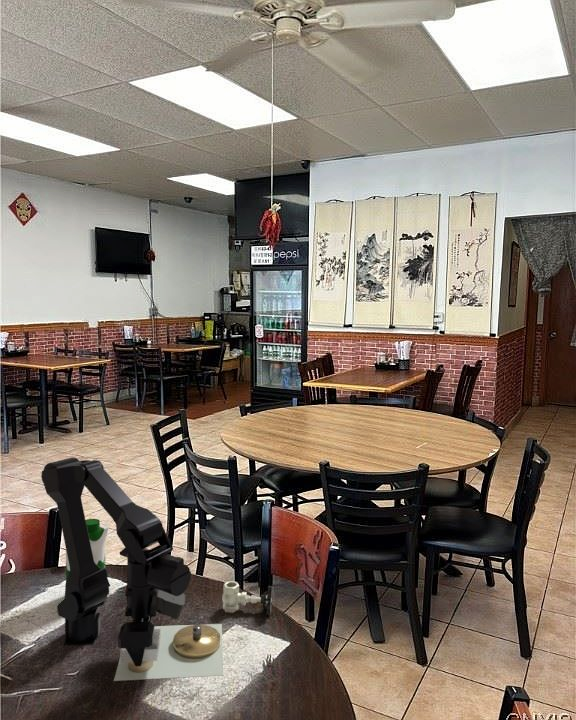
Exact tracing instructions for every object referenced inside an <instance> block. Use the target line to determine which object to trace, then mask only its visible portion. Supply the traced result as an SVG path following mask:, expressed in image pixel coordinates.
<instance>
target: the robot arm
mask: <svg viewBox="0 0 576 720" xmlns="http://www.w3.org/2000/svg"><path fill="white" fill-rule="evenodd" d="M41 481H42V484H43V486H44V489H45V493H46V495H47V496H49V498H51V499H52V500H53V501H54V502H55V503H56V506H57V511H58V516H59V520H60V526H61V530H62V536H63V541H64V545H65V552H66V551H67V556H68V561H69V566H70V572H69V575H68V578H67V581H66V580H65V586H64V587H65V588H66V597H65V596H64V598H63V599H62V600H61V601H60V602H59V603H58V604H57V605H56V610H57V614H58V616H59V617H61V618H63V619H64V640H63V641H62V646H80V645H81V646H82V645H84V646H85V645H94V644H95V642H96V639H97V638H98V637H100V636H99V635H100V632H101V618H102V617H101V614H102V613H100V612H99V608H100V607H102V606H104V605H105V603H106V602H107V601H106V600H107V599H108V596H109V595H110V587H111V584H110V581H109V579H108V570H107V569H106V567H105V568H103V569H101V568H100V567H99V566H98V565H97V564H96V563H95V562H94V558H93V554H92V549H91V544H90V539H89V534H88V529H87V525H86V520H87V519H86V516H85V512H84V506H83V501H82V495H83V491H84V488H86V489H87V490H88V491H89V493H90V494H91V495H92V496H93V498H94V499H95V500H96V501H97V502H98V503H99V504H100V506H101V507H102V508H103V509H104V510H105V512H106V513H107V514H108V515H109V516H110V517H111V518H112V520H113V521H114V523H115V527H116V529H115V530H116V535H117V536H118V538H119V540H120V541H121V543H122V545H123V547H124V548H123V549H122V550H120V551H119V555H120V556H122V557H125V558H127V560H126V562H127V563H126V564H127V565H126V567H127V569H126V570H127V571H126V573H127V574H126V577H127V578H126V579H127V580H126V588H125V590H124V591H125V592H124V594H125V597H126V607H125V611H124V617H130V620H132V621H128V622H127V621H126V622H125V623H124V624H122V626H120V630H119V634H118V636H117V637H118V638H117V647H118V648H119V649H121V648H125V649H126V650H127V652H128V653H129V655H130V657H131V659H132V661H133V663H134V664H135V666H141V664H142V660H143V655H144V651H145V647H150V646H152V644H153V639H154V626H155V625H154V624H153V623H152V622H151V621H152V618H153V617H154V618H157V613H158V614H159V615H163V616H166V617H170V618H172V619H173V620H179V618H180V616H181V614H182V611H183V609H184V606H185V601H186V595H185V594H184V593H185V592H186V590H187V589H188V587H189V585H190V582H191V578H192V572H191V570H190V567H189V566H188V565H187V564H186V563H185V560H184V558H183V557H180V556H174V555H172V554H169V553H170V552H172V551H174V547H173V545H172V543H171V539H170V538H169V536H168V535H167V532H166V531H165V527H164V526H163V523H162V521H161V519H160V518H159V517H158V516H157V515H155V514H154V513H153V512H152V511H150V510H149V509H148V508H146V507H143V506H140V505H138V504H136V503H135V502H133V500H132V499H131V498H130V496H129V495H127V493H126V492H125V491H124V490H123V489H122V488H121V487H120V486H119V485H118V484H117V482H116V481H115V480H114V479H113V477H111V476H110V474H109V473H108V472H107V471H106V470H105V467H104V465H103V463H102V461H100V460H97V459H92V460H91V459H85V460H79V459H78V458H77V457H75V456H73V457H72V456H71V457H69V458H65V459H61V460H56V461H51V462H49V463H46V464H45V466H44V467H43V470H41ZM157 543H158V544H159V545H156V546H155V547H153V548H149V547H151V546H153V545H155V544H157Z"/></svg>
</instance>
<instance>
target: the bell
mask: <svg viewBox="0 0 576 720" xmlns="http://www.w3.org/2000/svg"><path fill="white" fill-rule="evenodd" d="M190 625H191V626H187V627H185V628H182V629H181V630H179V631H178V632H177V633H176V634H175V635H174V638H173V649H174V651H175V652H176V653H177V654H178V655H179V656H181V657H184V658H188V659H201V658H205V657H208V656H210V655H212V654H214V653H215V652H216V651H217V650H218V649H219V647H220V634H219V632H218V631H217V630H216V629H215V628H213V627H210V626H207V625H204V624H190Z"/></svg>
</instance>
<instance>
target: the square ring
mask: <svg viewBox="0 0 576 720" xmlns="http://www.w3.org/2000/svg"><path fill="white" fill-rule="evenodd" d="M160 634H161V629H154V639H153V644H152V646H150V647H145V651H144V655H143V660H142V661H157V658H158V651H159V645H160ZM119 652H120V654H119V660H120V662H133V661H132V659H131V657H130V655H129V653H128V652H127V650H126V649H125V648H120V651H119Z"/></svg>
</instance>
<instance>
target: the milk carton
mask: <svg viewBox="0 0 576 720" xmlns="http://www.w3.org/2000/svg"><path fill="white" fill-rule="evenodd" d="M85 520H86V525H87V529H88V534H89V539H90V544H91V549H92V554H93V558H94V562H95V563H96V564H97V565H98V566H99V567H100V568H101V569H103V568H105V569H106V558H107V557H106V553H107V552H106V548H107V547H106V544H107V543H106V542H107V537H108V532H109V527H108V526H106V525H104V524H102V523H101V521H100V519H97V518H87V519H85ZM69 572H70V566H69V561H68V556H67V551H66V550H65V582H66V581H67V578H68V575H69ZM64 590H65V591H64V598H65V597H66V588H65V589H64Z"/></svg>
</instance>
